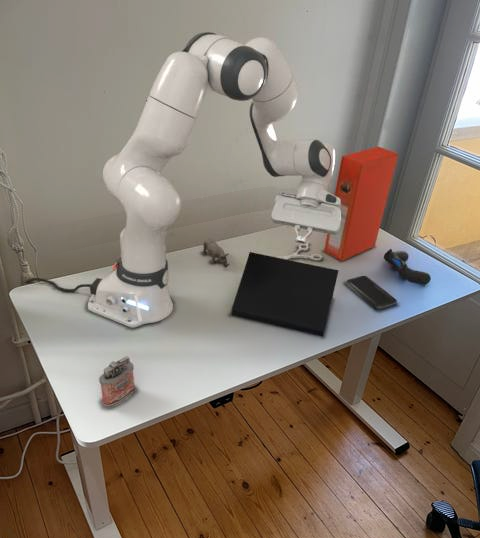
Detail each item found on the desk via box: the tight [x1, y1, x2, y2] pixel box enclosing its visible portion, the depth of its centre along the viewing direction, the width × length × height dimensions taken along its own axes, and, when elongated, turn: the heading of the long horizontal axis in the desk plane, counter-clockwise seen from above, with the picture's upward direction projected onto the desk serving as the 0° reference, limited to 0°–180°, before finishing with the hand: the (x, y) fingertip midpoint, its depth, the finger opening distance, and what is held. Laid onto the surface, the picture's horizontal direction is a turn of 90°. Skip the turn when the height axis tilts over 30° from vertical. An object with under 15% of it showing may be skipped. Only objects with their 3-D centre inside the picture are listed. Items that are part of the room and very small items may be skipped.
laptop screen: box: [231, 251, 339, 332], centre depth 136 cm, size 18×25×1 cm
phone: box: [345, 275, 398, 311], centre depth 149 cm, size 8×1×15 cm
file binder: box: [323, 146, 399, 262], centre depth 160 cm, size 8×17×32 cm, turn 131°
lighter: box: [98, 355, 136, 409], centre depth 107 cm, size 8×3×10 cm, turn 138°
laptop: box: [231, 296, 334, 337], centre depth 140 cm, size 18×25×2 cm
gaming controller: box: [383, 248, 432, 286], centre depth 158 cm, size 17×6×10 cm
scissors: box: [276, 241, 323, 261], centre depth 163 cm, size 11×1×20 cm
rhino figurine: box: [202, 237, 230, 268], centre depth 155 cm, size 4×14×6 cm, turn 33°
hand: (300, 242), depth 147 cm, fingers closed
